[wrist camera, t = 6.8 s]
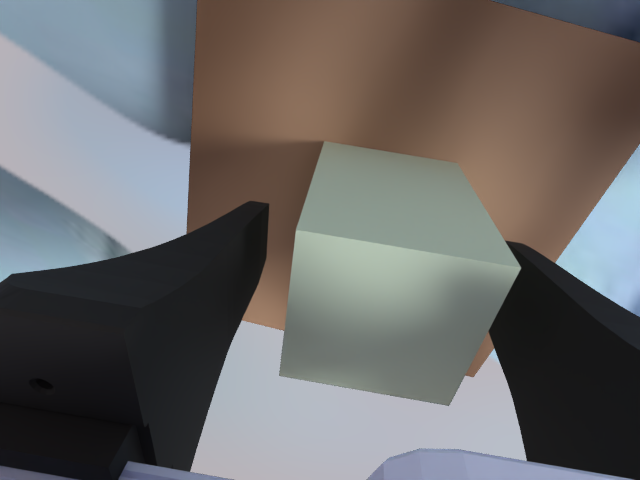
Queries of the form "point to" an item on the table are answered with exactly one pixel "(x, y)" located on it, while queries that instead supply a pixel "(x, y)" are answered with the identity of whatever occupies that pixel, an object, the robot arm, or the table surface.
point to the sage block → (392, 276)
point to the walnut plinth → (407, 112)
